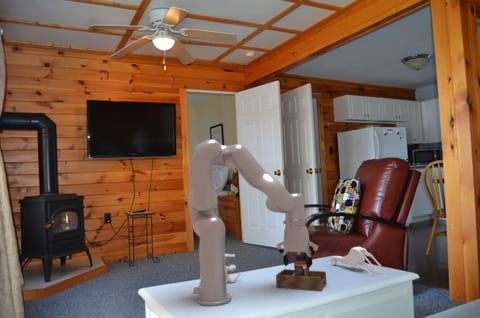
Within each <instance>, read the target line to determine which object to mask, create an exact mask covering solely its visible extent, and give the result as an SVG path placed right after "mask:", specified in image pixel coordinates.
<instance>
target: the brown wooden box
mask: <svg viewBox="0 0 480 318" xmlns="http://www.w3.org/2000/svg"><path fill="white" fill-rule="evenodd" d="M309 271H310V277H309V276H293V274H294V273H295V269H287V268H286V269H285V268H284V269H282V270H281V271H279V272H278V273H276V275H275V281H276V289H287V290H288V289H290V290H301V291H302V290H303V291H315V292H322V291H323V290H324V289H325V286H326V285H327V272H326V271H324V270H323V271H321V270H309Z"/></svg>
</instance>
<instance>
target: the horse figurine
mask: <svg viewBox="0 0 480 318" xmlns="http://www.w3.org/2000/svg"><path fill="white" fill-rule="evenodd" d="M330 257H331V258H330V262H331V265H332V266H333V267H335V266H336V265H337V263H338V262H340V263H341V264H344V265H348V266H350V267H352V268H357V267H358V268H360V269H362V270H364V271H366V272H367V273H369V274H370V277H372V276H373V274H374V273H372V272H371V271H370V270H369V269H367V268H370V269H371V270H374V271H375V272H376V273H377V275H379V274H380V271H378V270H377V269H376V266H374V265H373V264H372V262H371V261H370V260H369V259H368V258H367V257H371V259H373V260H374V262H375V263H376V264H377V266H378V267H379V269H381V267H382V264H380V262H378V261H377V259H376V258H375V257H374V256H373V254H372V253H370V252H368V251H367V249H366V248H364V247H361V246H354V247H351V248H350V250H349V252H348V253H347V255H344V256H341V255H332V256H330ZM365 260H366V262H368V263H369V264H368V263H366V262H365ZM364 266H365V267H367V268H365V267H364Z"/></svg>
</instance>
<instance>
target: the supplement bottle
mask: <svg viewBox="0 0 480 318" xmlns="http://www.w3.org/2000/svg"><path fill="white" fill-rule="evenodd" d="M293 264H294V265H293V267H294V270H295V276H309V277H310V271H311V270H310V267H308V264H307V254H306V253H305V254H304V253H300V254H299V253H298V254H296V255H295V260H294V262H293Z"/></svg>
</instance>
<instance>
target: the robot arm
mask: <svg viewBox="0 0 480 318" xmlns="http://www.w3.org/2000/svg"><path fill="white" fill-rule="evenodd" d="M214 165H215V166H220V167H221V166H222V167H233V168H235V170H236V171H237V173H239V174H240V175H241V177H242V178H243V180H245V182H246V183H247V184H248V185H250V186H251V187H253V188H254V189H256V190H258V191H260V192H261V193H263V194H265V195H266V196H267V197H266V200H265V207H266V209H267V210H269V211H270V212H273V213H276V214H277V213H278V214H279V213H280V214H285V217H286V219H285V220H283V222H282V223H283V225H285V227H284V230H283V241H281V242H279V243H277V244H276V247H277V248H276V249H278V252H279V253H280V254H281V256H282V258H283V264H284V267H287V266H288V265H289V255H288V253H298V254H299V253H300V254H304V253H305V255H306V259H307V264H308V267H309V268H311V267H312V266H313V256H314V255H315V254H316V253H317V251H318V248H319V245H317V244H315V243H314V242H312V241H311V240H310V236H309V235H310V234H309V230H308V227H307V226H306V217H305V216H306V215H305V198H304V195H303V194H302V193H300V192H299V193H296V192H295V193H290V192H289V191H288V190H287V189H286V188H285V186H284V185H283V184H282V183H281V182H280V181H279V180H277V179H276V178H275V177H274V176H272V175H271V174H270V173H269V172H267V171H266V169H264V168H263V166H262V165H261V164H260V163H259V161H257V159H256V158H255V157H254V155H253V154H252V153H251V152H250V150H249V149H248V148H247V147H246V146H245V145H244V144H240V143H235V144H232V145H222V144H221V143H220V142H219V140H216V139H213V138H212V139H211V138H210V139H207V140H204V141H202V142H200V143H199V144H198V145H196V147H195V148H194V152H193V155H192V157H191V158H190V162H189V171H188V172H189V179H190V186H191V191H190V192H189V193H188V197H187V205H188V211H189V216H190V220H191V227H192V228H193V232H194V233H195V234H196V235H197V236H198V237H199V243H198V244H199V245H198V246H199V248H198V254H199V255H198V257H199V273H200V274H199V277H200V276H201V287H200V288H199V287H197V286H194V287H193V291H192V294H193V295H198V297H197V299H196V300H197V303H198V304H199V305H201V306H210V307H212V306H214V307H215V306H221V305H224V304H227V303H229V302H230V301H232V295H231V294H230V293H228V289H227V283H226V266H227V265H226V260H225V254H226V253H225V251H226V250H225V249H226V248H225V246H226V245H225V242H226V239H225V238H226V226H225V223H224V222H223V220H222V218H220V217H219V216H217V215H216V214H214V209H215V208H216V207H217V204H218V197H217V192H216V187H215V183H214V177H213V167H214ZM282 246H283V247H282ZM311 247H312V248H313V250H310V249H311ZM225 265H226V266H225Z"/></svg>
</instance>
